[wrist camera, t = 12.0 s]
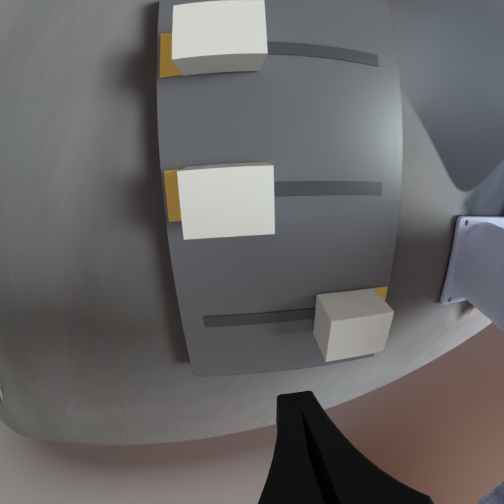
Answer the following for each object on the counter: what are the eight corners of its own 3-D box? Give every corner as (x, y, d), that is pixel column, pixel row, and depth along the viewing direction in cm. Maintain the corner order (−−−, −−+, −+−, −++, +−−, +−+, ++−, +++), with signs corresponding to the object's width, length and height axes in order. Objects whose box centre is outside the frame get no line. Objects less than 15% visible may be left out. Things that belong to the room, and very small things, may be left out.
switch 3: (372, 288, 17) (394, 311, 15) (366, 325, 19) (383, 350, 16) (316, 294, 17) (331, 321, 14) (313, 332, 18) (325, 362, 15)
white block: (257, 24, 11) (264, 0, 9) (260, 71, 12) (267, 53, 10) (182, 28, 11) (173, 5, 8) (182, 75, 12) (171, 59, 9)
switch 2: (264, 162, 14) (273, 165, 11) (266, 217, 15) (274, 233, 12) (187, 166, 14) (177, 171, 11) (192, 222, 15) (183, 239, 12)
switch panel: (377, 10, 12) (387, 2, 11) (366, 344, 21) (373, 356, 20) (165, -1, 11) (160, -12, 10) (195, 363, 21) (193, 377, 19)
